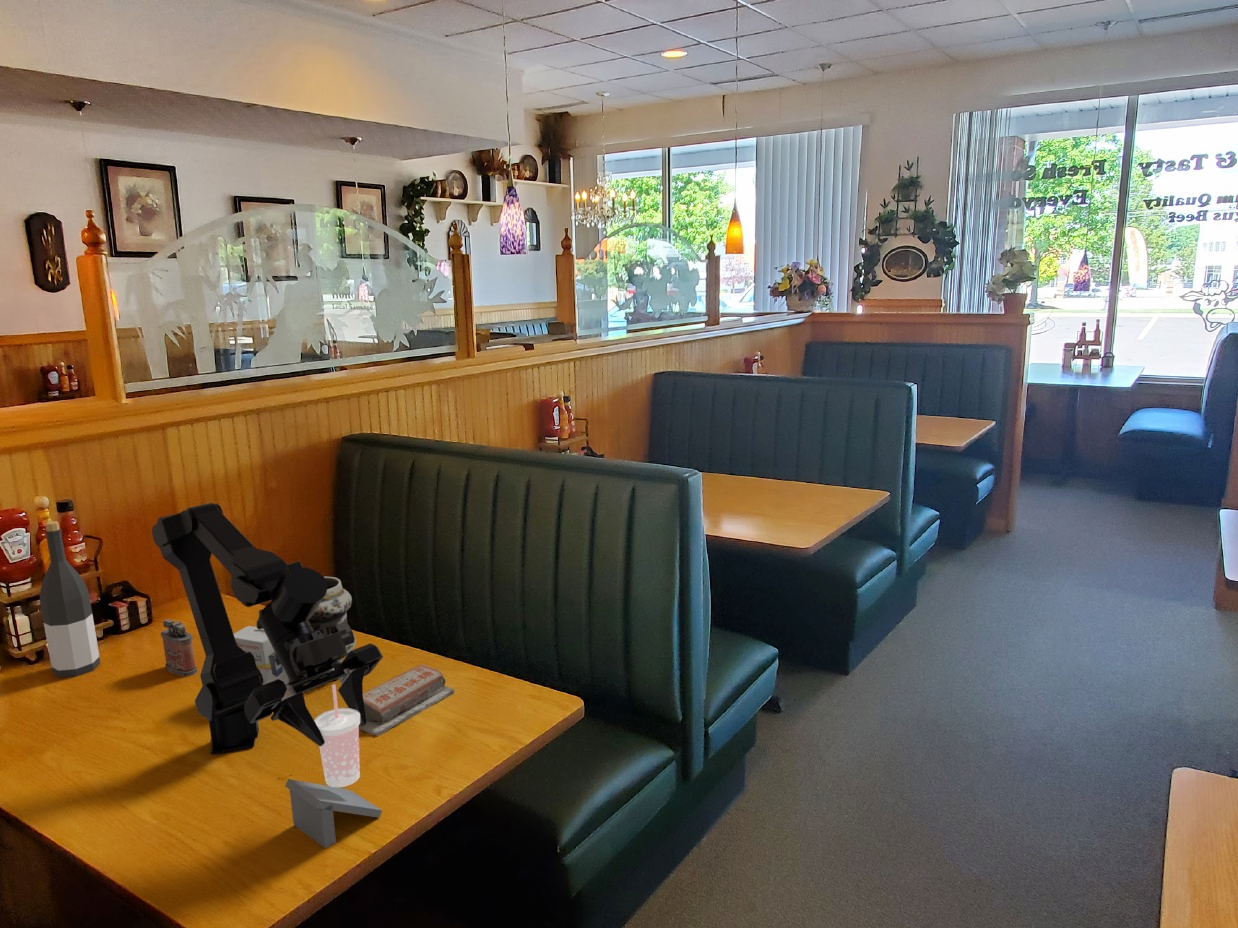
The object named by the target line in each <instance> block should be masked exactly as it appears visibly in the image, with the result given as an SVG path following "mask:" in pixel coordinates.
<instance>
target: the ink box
mask: <svg viewBox="0 0 1238 928" xmlns="http://www.w3.org/2000/svg"><path fill="white" fill-rule="evenodd" d="M233 634H234V637H235V640H236V643H237V645H238V646H239V647H240V648H241V649H243V650H244V651H245V652H246V653H247V652H251V653H252V654H253V655H254V658H255V662H256V666H257V668H258V669H259V670H260V672H261V674H262V677H263V685H265V684H267V683H270V682H272V681H275V680H277V679H279V680H281V681H283V682H284V684H285V685H286V684H288V683H289V681H290V680H289V678H288V676H287V674H286V672H285V670H284V668H283V666H282V664H281V665H278V666H277V664H276V662H275V660H274V659H275V658H276V656H277V654H276V653H275V651H274V649H273V647H272V645H271V643H270V641H269V639H268V637H267V635H266V633H265V631H264V629H260V630H259V629H257V626H253V625H248V626H245V627H244V628H242V629H240V630H238V631H236V632H233Z"/></svg>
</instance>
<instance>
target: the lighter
mask: <svg viewBox="0 0 1238 928" xmlns="http://www.w3.org/2000/svg"><path fill="white" fill-rule="evenodd" d="M162 625H163V627H164V628H166V629H164V630H162V631H161V632H160V637H161V638H162V644H163V651H164V656H165V657H164V658H165V664H164V665H165V669H166V670H167V671H168V672H170V673H171V674H175V675H178V676H182V677H190V676H193V675H196V674H197V673H198V667H197V666H196V660H195V654H194V647H193V640H194V638H193V634H191V633H190V632H188V631H187V628H186V624H183V623H182V622H181V621H180V620H177V621H174V620H171V619H169V618H168V619H164V620H163V624H162Z"/></svg>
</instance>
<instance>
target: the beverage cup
mask: <svg viewBox="0 0 1238 928" xmlns="http://www.w3.org/2000/svg"><path fill="white" fill-rule="evenodd" d="M336 685H337V684H335V683H334V684H332V685H331V688H332V689H331V691H332V699H333V709H330V710H327V711H324V712H322V713H321V714H319V715H318V716H316V717H315V719H313V720H314V721H315V723H316V725H317V726H318V728H319V730H320V732H321V734H322V736H323V739H324V741H325V743H324V745H323V746H319V745H318V746H319V752H320V757H321V758H320V759H321V764H322V768H323V769H322V770H323V775H324V780H325V783H326V786H331V787H336V788H343V787H348V786H350V785H353V784H354V783H355V782H357V781H358V780H359V778H361V771H360V769H361V767H360V762H361V761H360V729H359V724H360V713H359V712H358V711H357V710H354V709H351V708H348V707H340V708H339V706H338V705H339V704H338V697H337V696H338V695H337V686H336Z"/></svg>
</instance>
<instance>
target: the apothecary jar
mask: <svg viewBox="0 0 1238 928" xmlns="http://www.w3.org/2000/svg"><path fill="white" fill-rule="evenodd" d="M324 578H325V579H326V582H327V592H326V594H325V596H324V598H323V599H322V601H321V602H320V604H319V606H318V607H317V609H316V610H315V612H314V613H313V615H312V616H311V617H310V618H309V619H308V621H309V623H310V625H311V627H312V629H313V630H317V629H318V630H319V631H320V632H321V633H322V635H323V636H324V637H325V636H327V635H330V634H331V627H333V626H335V625H338V624H341V623H344V622H347V623H348V618H347V617H348V615H347V611H348V610H349V609H350V608H351V607H352V603H353V598H352V595H351V594H350V593H349V591H347V590H346V589H345V588H343V585H342V581H341V579H339V578H338V577H333V576H324ZM354 637H355V641H354V643H352V644H349V645H347V646H345V647H346V650H347V653H346V654H343V655H337V656H338V659H337V660H336V661H335V662H333V663H332V666H334V665H337V664H339V663H342V662H343V660H344V659H345V658H346V656H347V655H348V653H349V652H350V651H352V650H354V648H355V646H356V643H357V638H356V636H355V634H354ZM326 676H327V675H326ZM326 676H324V677H326ZM324 677H322V678H324ZM320 679H321V678H320ZM336 680H338V679H336ZM336 680H333V681H332V682H334V681H336Z"/></svg>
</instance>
